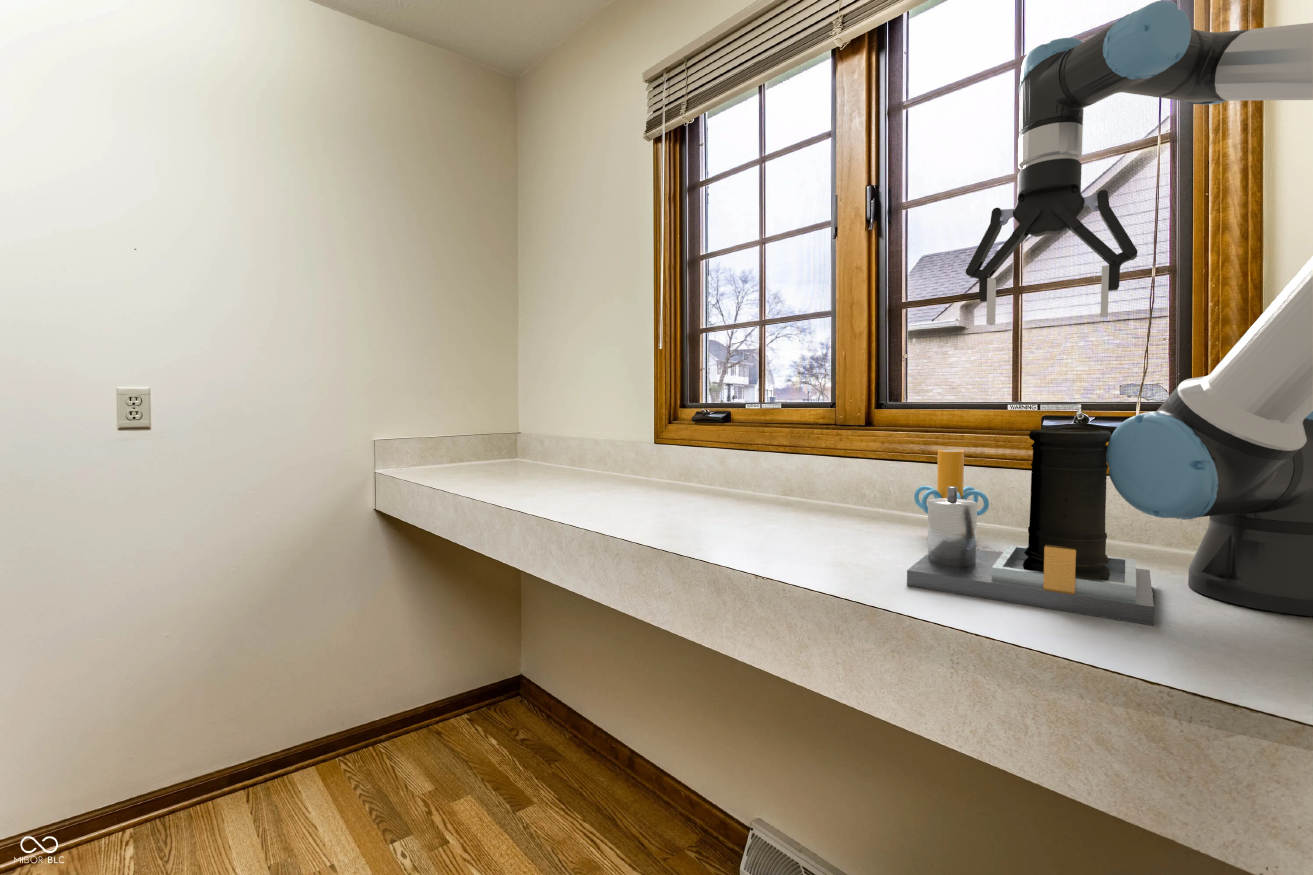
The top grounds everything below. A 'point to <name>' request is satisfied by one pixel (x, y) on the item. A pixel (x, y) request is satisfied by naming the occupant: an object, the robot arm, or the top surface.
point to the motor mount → (1023, 571)
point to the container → (1069, 498)
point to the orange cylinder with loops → (950, 481)
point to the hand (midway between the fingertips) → (1044, 320)
